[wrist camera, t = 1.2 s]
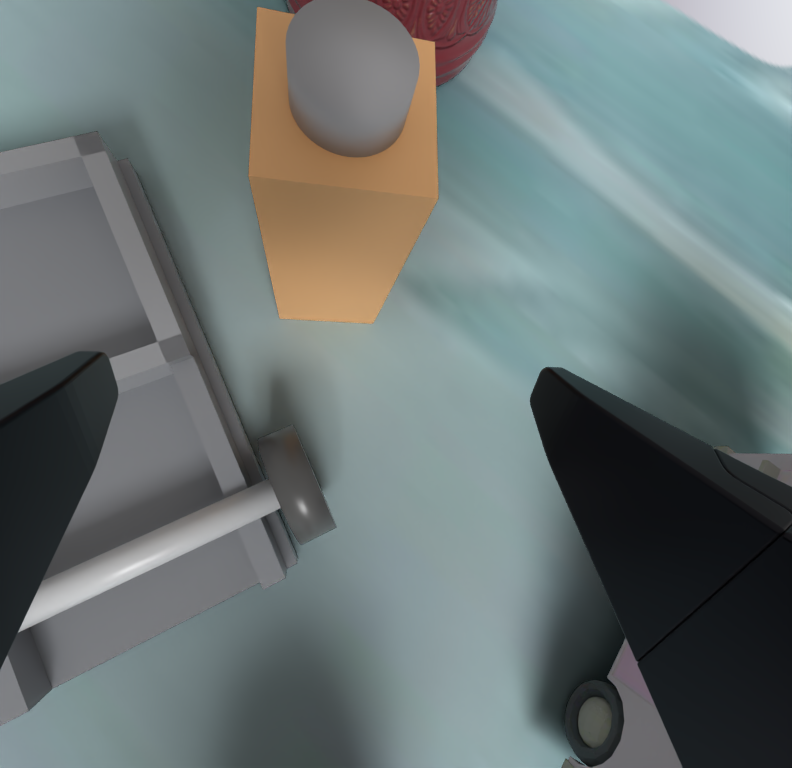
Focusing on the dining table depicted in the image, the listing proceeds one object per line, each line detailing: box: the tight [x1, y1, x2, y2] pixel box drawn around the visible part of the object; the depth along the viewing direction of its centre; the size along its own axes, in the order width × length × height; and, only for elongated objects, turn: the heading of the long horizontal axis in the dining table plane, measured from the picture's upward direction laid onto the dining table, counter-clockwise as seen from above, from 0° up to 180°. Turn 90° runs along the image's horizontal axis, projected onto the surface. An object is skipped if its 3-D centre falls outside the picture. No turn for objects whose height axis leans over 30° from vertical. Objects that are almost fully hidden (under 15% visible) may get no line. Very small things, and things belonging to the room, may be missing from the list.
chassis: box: [0, 131, 336, 726], centre depth 17 cm, size 22×17×5 cm
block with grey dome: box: [248, 0, 438, 324], centre depth 16 cm, size 5×5×14 cm
